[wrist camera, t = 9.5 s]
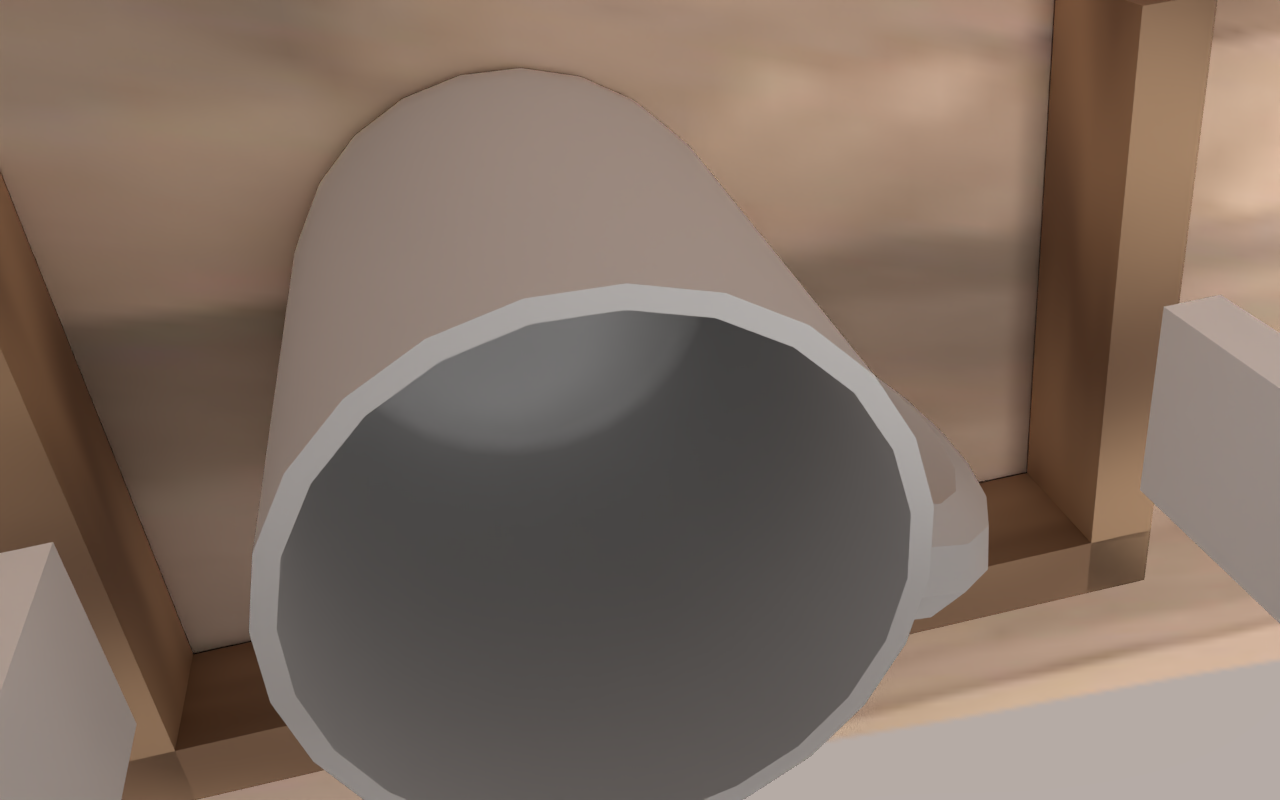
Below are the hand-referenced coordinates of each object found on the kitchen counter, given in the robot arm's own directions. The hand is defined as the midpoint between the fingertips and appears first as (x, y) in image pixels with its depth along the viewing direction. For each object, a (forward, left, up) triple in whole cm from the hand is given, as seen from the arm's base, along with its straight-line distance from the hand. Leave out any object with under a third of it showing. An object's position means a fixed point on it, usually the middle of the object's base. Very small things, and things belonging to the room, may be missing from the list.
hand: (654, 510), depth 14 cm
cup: (0, 0, -7) cm, 7 cm away
